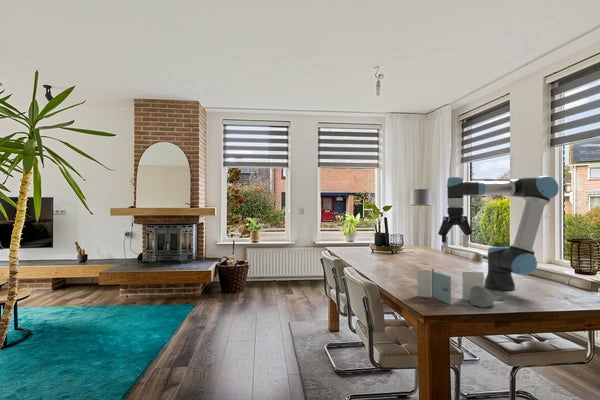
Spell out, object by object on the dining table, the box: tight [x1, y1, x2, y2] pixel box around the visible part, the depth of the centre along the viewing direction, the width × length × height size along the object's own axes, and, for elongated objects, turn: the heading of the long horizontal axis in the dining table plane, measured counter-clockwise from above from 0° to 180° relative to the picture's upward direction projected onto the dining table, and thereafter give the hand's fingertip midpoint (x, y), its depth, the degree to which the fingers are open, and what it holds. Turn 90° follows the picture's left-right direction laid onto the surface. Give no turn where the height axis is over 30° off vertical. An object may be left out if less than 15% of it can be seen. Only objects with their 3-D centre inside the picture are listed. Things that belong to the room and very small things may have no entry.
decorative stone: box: [469, 286, 496, 308], centre depth 165 cm, size 13×11×10 cm
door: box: [432, 270, 452, 305], centre depth 171 cm, size 12×3×13 cm, turn 14°
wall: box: [416, 268, 485, 301], centre depth 176 cm, size 31×1×14 cm, turn 74°
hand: (455, 248), depth 180 cm, fingers open, 13 cm apart
